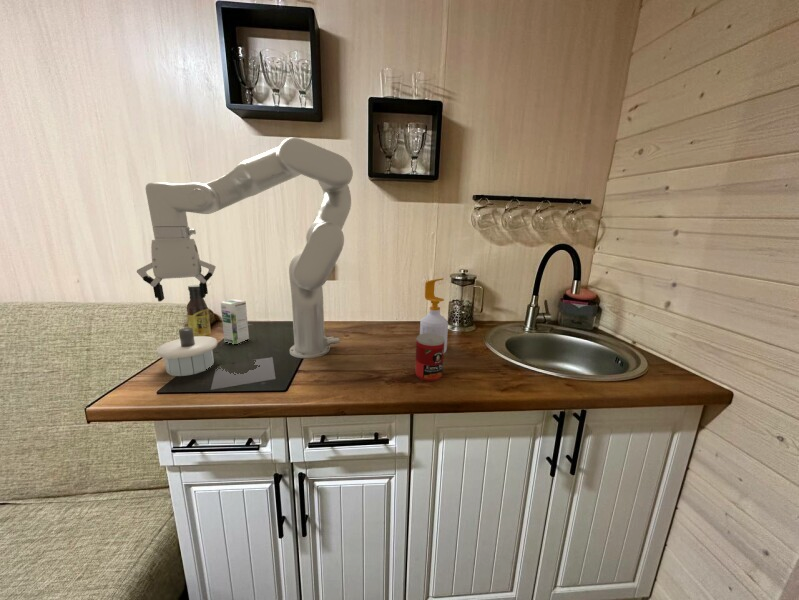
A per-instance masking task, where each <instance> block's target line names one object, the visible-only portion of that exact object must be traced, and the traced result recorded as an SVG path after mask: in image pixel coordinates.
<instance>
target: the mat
mask: <svg viewBox="0 0 799 600" xmlns="http://www.w3.org/2000/svg"><path fill="white" fill-rule="evenodd" d="M255 360H256V362H255V361H254V362H255V364H254V365H258V366H259V365H260V367H258V366H257V368H256V369H254V370H249V371H248V372H247V373H244V374H240V373H239V374H237V373H235V372H234V374H236V375H234V374H233V373H231V374H230V373H229V372H228V371H227V372H226V371H225V369H224V370H223V369H222V368H221V367H220V368H221V369H218V368H217V369H218V370H217V369H216V368H215V371H214V375H213V378H212V383H211V388H210V391H212V390H217V389H218V390H220V389H224V388H230V387H235V386H243V385H249V384H255V383H259V382H260V383H261V382H267V381H273V380H276V373H275V364H274V359H273V356H271V357H265V358H256V359H255ZM216 370H217V371H216ZM222 370H223V371H222Z"/></svg>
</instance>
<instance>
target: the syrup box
mask: <svg viewBox="0 0 799 600" xmlns="http://www.w3.org/2000/svg"><path fill="white" fill-rule="evenodd" d="M220 310H221V319H222V320H221V321H222V329H223V330H222V331H223V339H224V343H225V342H228V343H227V344H229V343H232V344H231V345H234V344H238V343H240V342H242V341H245V340H247V339H249V340H250V335H249V324H248V314H247V312H248V311H247V301H246V300H240V299H228V300H223V301H220ZM245 342H246V341H245ZM240 344H241V343H240ZM238 345H239V344H238Z"/></svg>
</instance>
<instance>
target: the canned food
mask: <svg viewBox="0 0 799 600" xmlns="http://www.w3.org/2000/svg"><path fill="white" fill-rule="evenodd" d="M444 355H445V353H444V338H443V337H442V336H440V335H437V334H432V333H425V334H420V333H419V334H418V335H417V336H416V342H415V369H414V370H415V371H414V372H415V375H416V377H417V378H418V379H419V380H422V381H425V382H434V381H439V380H440V379H441V378H442V377H443V373H444V372H443V371H444Z"/></svg>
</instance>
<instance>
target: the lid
mask: <svg viewBox="0 0 799 600" xmlns="http://www.w3.org/2000/svg"><path fill="white" fill-rule="evenodd" d="M178 334H179V338H177V339H174V340H171V341H168V342H165V343H163V344H161V345H159V346H158V347H157V349H156V354H157V356H158V357H160V358H162V359H164V358H168V359H177V358H186V357H192V356H196V355H200V354H203V353H206V352H208V351H211V350H212V351H213V350H214V349H215V348H216V347H217V346H218V340H217V338H215V337H212V336H211V337H208V336H195V337H194V334H193V328H189V327H184V328H180V329H179V330H178Z"/></svg>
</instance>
